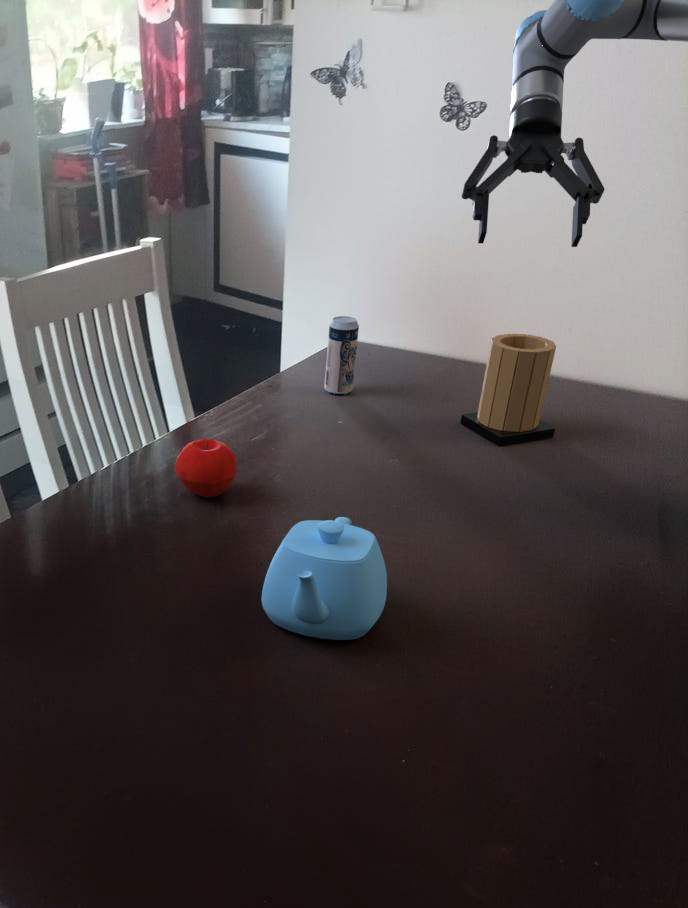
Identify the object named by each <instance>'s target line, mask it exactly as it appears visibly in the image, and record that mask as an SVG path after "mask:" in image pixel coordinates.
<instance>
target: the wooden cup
mask: <svg viewBox="0 0 688 908" xmlns="http://www.w3.org/2000/svg"><path fill="white" fill-rule="evenodd" d="M556 349H557V345H556V343H555V342H554V341H553V340H550V339H549V338H547V337H546V338H545V337H542V336H538V335H532V334H527V333H505V334H498V335H495V336H493V337H491V339H490V344H489V351H488V356H487V361H486V365H485V370H484V371H485V372H484V377H483V382H482V388H481V393H480V399H479V404H478V409H477V412H478V414H477V418H478V421H479V422H480V423H481V424H483V425H485V426H487V427H489V428H493V429H497V430H501V431H503V430H504V431H511V432H523V431H529V430H533V429H534V428H536V427H537V426H538V425H539V421H541V420H540V419H541V416H542V411H543V407H544V404H545V403H544V402H545V398H546V395H547V389H548V384H549V380H550V376H551V371H552V367H553V363H554V358H555V354H556Z"/></svg>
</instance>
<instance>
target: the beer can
mask: <svg viewBox="0 0 688 908" xmlns="http://www.w3.org/2000/svg"><path fill="white" fill-rule="evenodd" d="M359 329H360V325H359V323H358V320H357V318H356V317H352V316H345V315H341V316H340V315H339V316H335V317H333V318H332V320H331V321H330V323H329V327H328V341H327V350H326V351H327V353H326V363H325V373H324V386H323V388H324V390H325V391H326V392H328V393H329V392H330V393H329V394H331V393H333V394H332V395H335V394H344V395H347V394H348V393H351V392H352V391H353V389H354V379H355V367H356V358H357V348H358V340H359V339H358V338H359Z"/></svg>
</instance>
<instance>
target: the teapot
mask: <svg viewBox="0 0 688 908" xmlns="http://www.w3.org/2000/svg"><path fill="white" fill-rule="evenodd" d="M384 559H385V558H384V556H383V553H382V550H381V547H380V544H379V542H378V539H377V536H375V534H374V533H372V532H371V531H369V530H367V529H365V528H362V527H359V526H356V525H353V522H352V520H351V519H350V518H348V517H345V516H338V517H336V518H335V520H332V519H331V520H330V519H327V520H319V519H318V520H317V519H315V520H314V519H308V520H302V521H299V522H297V523H295V524H294V525H293V526H292V527H291V528H290V530H289V531H288V532H287V533H286V534H285V536H284V538H283V539H282V541H281V543H280V544H279V546H278V548H277V550H276V552H275V553H274V555H273V557H272V559H271V562H270V564H269V567H268V569H267V572H266V575H265V578H264V582H263V586H262V591H261V599H260V600H261V605H262V606H261V607H262V609H263V610H264V612H265V614H266V615H267V618H269V619H270V621H271V622H272V623H273V624H275V625H276V626H278V627H281V628H282V629H285V630H287V631H290V632H293V633H295V634H299V635H302V636H306V637H310V638H315V639H323V640H334V641H351V640H356V639H359V638H362V637H363V636H365V635H366V634H367V633H368V632H369V631H370V630H371V629H372V627H374V625H375V624H376V623H377V622H378V620H379V618H380V617H381V615H382V614H383V611H384V610H385V609H384V608H385V606H386V602H387V593H388V576H387V575H388V573H387V568H386V567H387V566H386V562H385V560H384Z"/></svg>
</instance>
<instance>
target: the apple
mask: <svg viewBox="0 0 688 908" xmlns="http://www.w3.org/2000/svg"><path fill="white" fill-rule="evenodd" d="M236 459H237V458H236V456H235V454H234V452H233V450H232V449H231V448H230V447H229V446H228V445H227V444H225V443H224V442H221V441H219V440H216V439H211V438H203V439H197V440H193V441H191V442H188V443H187V444H186V445H185V446H184V447H183V448H182V450H181V451H180V452H179V454H178V455H177V458H176V461H175V464H174V470H175V474H176V475H177V477H178V479H179V482H180V483H182V484H183V485H184V486H185V487H186V488H187V489H188V490H189V491H190V492H191V493H193V494H194V495H197V496H198V497H203V498H215V497H217V496H220V495H223V494H224V493H225V492H226V491H227V490H228V489H229V487H230V486H231V484H232V483H233V482H234V479H235V476H236V474H237V462H236V461H237V460H236Z"/></svg>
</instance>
